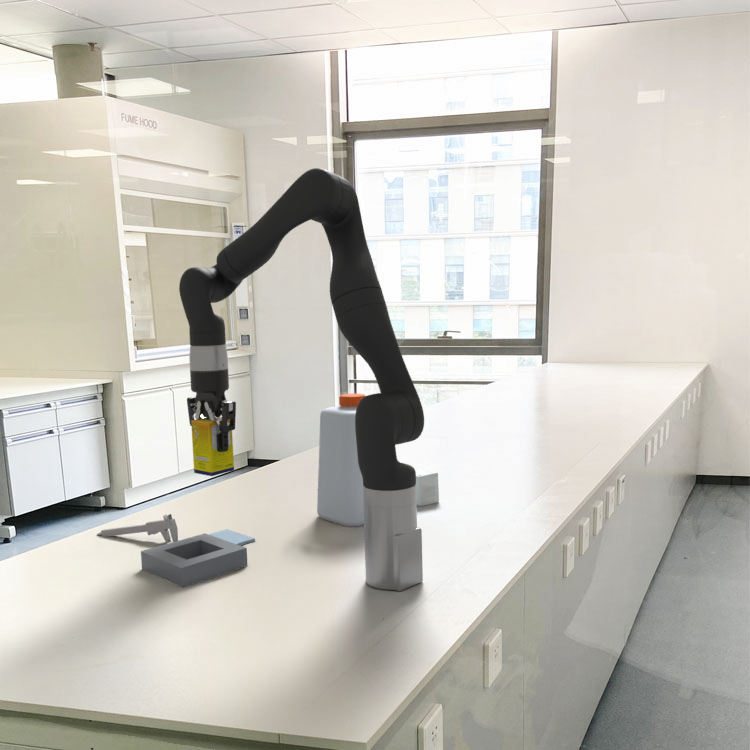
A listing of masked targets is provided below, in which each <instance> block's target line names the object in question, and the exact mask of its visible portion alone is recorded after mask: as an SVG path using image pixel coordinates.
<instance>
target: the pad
mask: <svg viewBox="0 0 750 750" xmlns="http://www.w3.org/2000/svg"><path fill="white" fill-rule="evenodd" d="M207 534H208V535H211V536H214V537H217V538H220V539H223V540H226V541H228V542H231V543H234V544H237V545H240V546H243V545H246V544H250V543H253V542H256V538H255V537H252V536H249V535H246V534H243V533H240V532H237V531H235V530H231V529H223V530H219V531H216V532H212V533H207Z"/></svg>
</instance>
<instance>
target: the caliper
mask: <svg viewBox="0 0 750 750" xmlns="http://www.w3.org/2000/svg"><path fill="white" fill-rule="evenodd" d="M162 516H163V519H159V520H152V521H148V522H146V523H145V524H136V525H129V526H121V527H114V528H107V529H102V530H100V532H98V533H97V534H96V535H97V536H101V537H114V536H123V535H130V534H139V533H146V532H147V534H148V536H151V535H156V534H158V533H161V536H162V537H163V539H164V541H165V544H168V543H172V542H176V541H179V532H178V530H179V529H178V525H177V522H176V519H175V518H173V516H172V513H169V514H164V515H162Z"/></svg>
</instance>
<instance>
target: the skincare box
mask: <svg viewBox="0 0 750 750" xmlns="http://www.w3.org/2000/svg"><path fill="white" fill-rule="evenodd" d="M415 472H416V505H417V506H418V507H423V506H428V505H432V504H433V505H434V504H437V503H439V502H440V497H439V496H440V491H439V473H438V472H435V471H432V470H427V469H425V468H421V469H420V468H419V469H415Z"/></svg>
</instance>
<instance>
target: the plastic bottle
mask: <svg viewBox="0 0 750 750" xmlns="http://www.w3.org/2000/svg"><path fill="white" fill-rule="evenodd" d="M365 396H366V395H365V394H364V393H345V394H340V395H339V397H338V401H339V402H338V403H339V405H336V406H330V407H326V408H323V409H322V410H321V411H320V413H319V414H320V415H319V416H320V417H319V419H320V420H319V440H318V441H319V443H318V445H319V446H318V447H319V448H318V469H317V470H318V471H317V473H318V474H317V475H318V478H317V500H316V501H317V505H316V506H317V508H316V509H317V510H316V513H317V515H318V516H319V517H320V518H321V519H323V520H326V521H328V522H329V521H330V522H332V523H334V524H338V525H341V526H344V527H345V526H346V527H361V526H364V504H363V502H364V501H363V478H362V474H361V471H360V468H359V464H358V455H357V443H356V432H355V415H356V409H357V406H358V404H359V402H360V401H361V399H362V398H364V397H365Z"/></svg>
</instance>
